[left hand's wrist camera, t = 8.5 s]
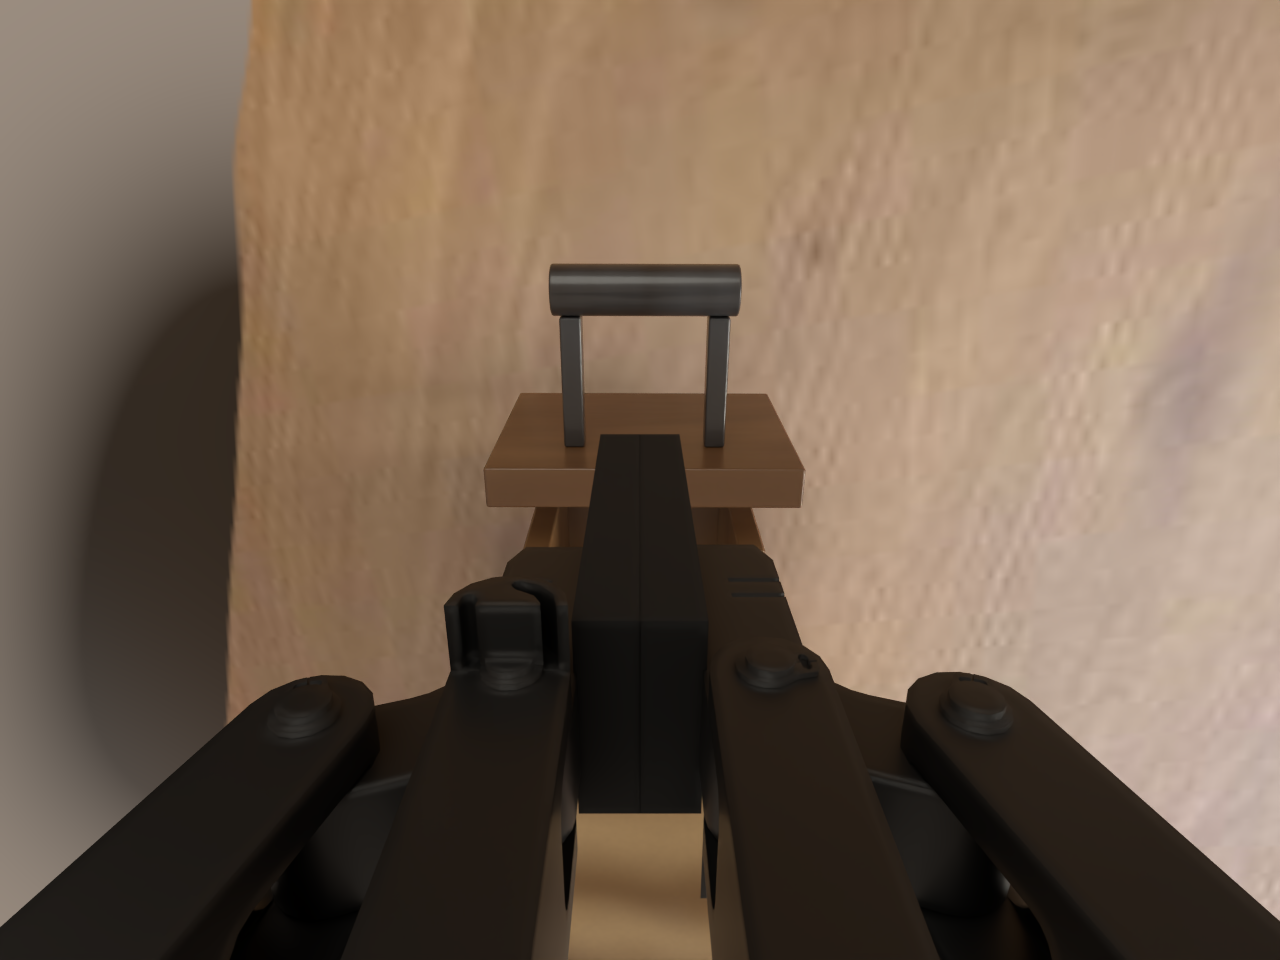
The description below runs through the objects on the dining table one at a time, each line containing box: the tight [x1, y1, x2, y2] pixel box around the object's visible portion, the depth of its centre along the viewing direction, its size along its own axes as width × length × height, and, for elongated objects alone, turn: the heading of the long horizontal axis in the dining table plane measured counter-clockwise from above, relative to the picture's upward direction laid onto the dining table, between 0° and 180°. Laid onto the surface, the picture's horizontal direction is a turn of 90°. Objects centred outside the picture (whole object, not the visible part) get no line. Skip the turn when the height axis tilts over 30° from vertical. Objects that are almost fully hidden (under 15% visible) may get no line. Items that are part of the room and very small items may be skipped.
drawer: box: [484, 264, 805, 553], centre depth 27 cm, size 25×9×7 cm, turn 0°
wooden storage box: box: [568, 801, 712, 960], centre depth 32 cm, size 21×10×9 cm, turn 0°
